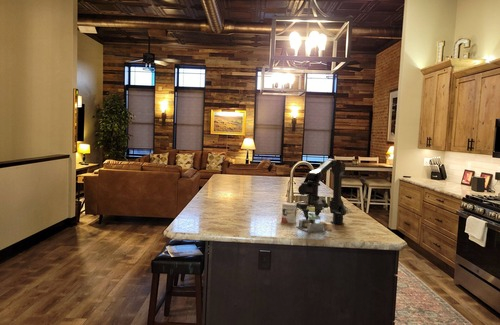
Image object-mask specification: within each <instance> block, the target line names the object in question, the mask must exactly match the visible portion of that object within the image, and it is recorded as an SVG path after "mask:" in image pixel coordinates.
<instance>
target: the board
mask: <svg viewBox="0 0 500 325" xmlns="http://www.w3.org/2000/svg"><path fill="white" fill-rule="evenodd" d="M302 217H303V218H305V215H304V213H303V216H302ZM308 219H311V220H315V221H317V220H321V216H320V215H319V216H317V215H315V213H313V212H308Z"/></svg>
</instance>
